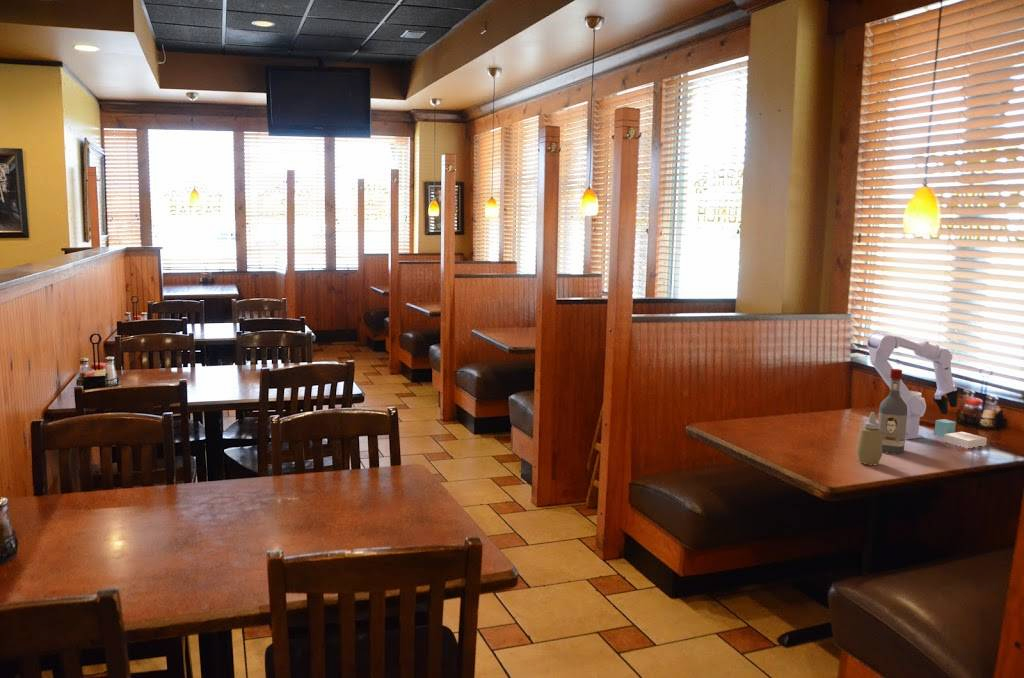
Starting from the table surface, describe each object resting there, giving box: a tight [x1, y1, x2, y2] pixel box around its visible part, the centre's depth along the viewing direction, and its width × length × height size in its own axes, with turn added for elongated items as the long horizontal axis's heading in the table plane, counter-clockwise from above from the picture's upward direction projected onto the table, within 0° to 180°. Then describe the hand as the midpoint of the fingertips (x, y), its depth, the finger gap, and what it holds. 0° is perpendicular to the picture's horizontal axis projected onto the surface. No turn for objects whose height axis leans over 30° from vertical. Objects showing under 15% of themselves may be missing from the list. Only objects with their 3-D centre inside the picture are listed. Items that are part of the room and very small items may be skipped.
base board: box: [943, 431, 988, 450], centre depth 303 cm, size 10×10×3 cm
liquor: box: [877, 368, 908, 455], centre depth 291 cm, size 9×9×30 cm
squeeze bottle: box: [856, 411, 883, 466], centre depth 276 cm, size 8×8×18 cm
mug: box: [909, 390, 927, 418], centre depth 335 cm, size 10×7×12 cm, turn 25°
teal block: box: [933, 418, 957, 438], centre depth 314 cm, size 5×5×6 cm
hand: (949, 410), depth 314 cm, fingers open, 7 cm apart
